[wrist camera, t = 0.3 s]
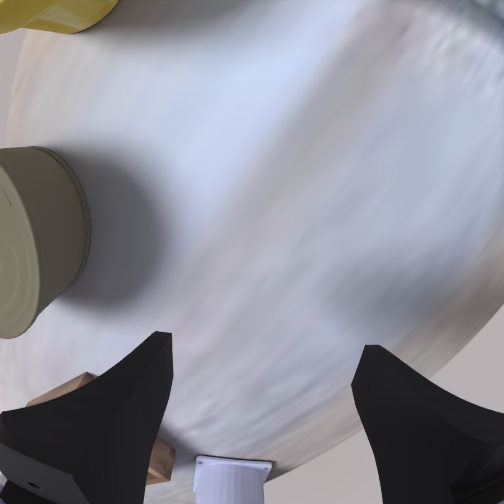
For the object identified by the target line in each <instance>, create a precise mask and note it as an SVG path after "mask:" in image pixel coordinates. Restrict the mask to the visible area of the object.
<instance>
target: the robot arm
mask: <svg viewBox="0 0 504 504" xmlns="http://www.w3.org/2000/svg"><path fill="white" fill-rule="evenodd" d="M172 381H173V354H172V333H167V332H159V331H155V332H154V333H152V334H151V335H150V336H149V337H148V338H147V339H146V340H144V341H143V342H142V343H141V344H140V345H139V346H138V347H137V348H135V349H134V350H133V351H132V352H131V353H130V354H128V355H127V356H126V357H125V358H123V359H122V360H121V361H120V362H118V363H117V364H116V365H114V366H113V367H112V368H110V369H109V370H108V371H106V372H105V373H103V374H102V375H100V376H99V377H97V378H96V379H94V380H92V381H90V382H89V383H87V384H85V385H83V386H81V387H79V388H77V389H75V390H73V391H71V392H68V393H66V394H64V395H62V396H60V397H57V398H54V399H51V400H49V401H46V402H43V403H39V404H36V405H33V406H29V407H24V408H20V409H15V410H10V411H3V412H2V413H1V414H0V471H1V473H2V474H3V475H4V476H5V477H6V479H7V481H6V483H5V485H4V486H3V485H2V484H1V483H0V504H143V501H144V494H145V487H146V481H147V474H148V469H149V463H150V458H151V453H152V449H153V446H154V442H155V439H156V436H157V433H158V430H159V427H160V424H161V421H162V418H163V415H164V412H165V409H166V406H167V403H168V400H169V396H170V391H171V386H172ZM351 387H352V392H353V397H354V401H355V405H356V408H357V411H358V414H359V416H360V419H361V421H362V424H363V427H364V429H365V432H366V434H367V437H368V440H369V442H370V445H371V448H372V450H373V453H374V457H375V461H376V465H377V470H378V474H379V480H380V486H381V492H382V499H383V504H504V413H500V412H496V411H493V410H489V409H486V408H483V407H480V406H478V405H475V404H473V403H470V402H468V401H465V400H463V399H461V398H459V397H457V396H455V395H453V394H451V393H449V392H448V391H446V390H444V389H442V388H440V387H439V386H437V385H436V384H434V383H432V382H431V381H429V380H428V379H426V378H425V377H423V376H422V375H421V374H419V373H418V372H416V371H415V370H414V369H412V368H411V367H409V366H408V365H407V364H405V363H404V362H403V361H401V360H400V359H399V358H397V357H396V356H395V355H393V354H392V353H391V352H389V351H388V350H386V349H385V348H383V347H382V346H380V345H365V347H364V350H363V353H362V356H361V359H360V362H359V364H358V367H357V370H356V373H355V375H354V378H353V381H352V383H351ZM271 468H272V463H271V462H261V461H245V460H234V459H224V458H215V457H207V456H197V457H196V466H195V477H194V489H193V492H194V493H196V501H195V504H264V493H263V485H264V483H265V481H266V479H267V477H268V474H269V472H270V470H271Z"/></svg>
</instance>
